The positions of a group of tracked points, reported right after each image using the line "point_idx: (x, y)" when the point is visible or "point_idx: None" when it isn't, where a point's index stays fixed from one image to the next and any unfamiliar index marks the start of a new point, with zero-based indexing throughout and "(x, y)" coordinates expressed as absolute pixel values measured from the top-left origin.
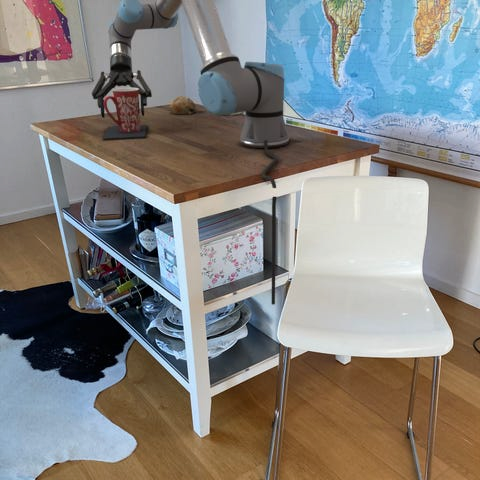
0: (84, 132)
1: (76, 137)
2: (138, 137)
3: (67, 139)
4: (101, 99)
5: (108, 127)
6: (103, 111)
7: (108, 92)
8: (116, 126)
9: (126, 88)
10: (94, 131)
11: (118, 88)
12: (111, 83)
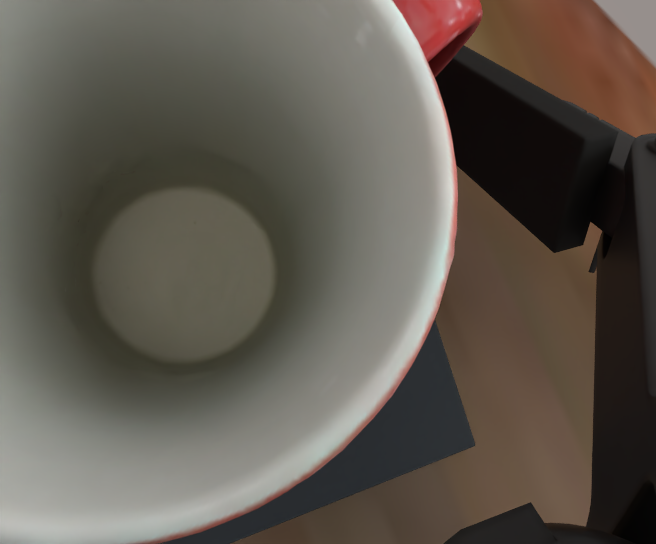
0: (591, 262)
1: (566, 89)
2: None
3: (597, 29)
4: (557, 108)
5: (455, 401)
6: (444, 93)
7: (595, 370)
8: (397, 451)
9: (201, 494)
10: (530, 303)
11: (387, 365)
12: (649, 403)
